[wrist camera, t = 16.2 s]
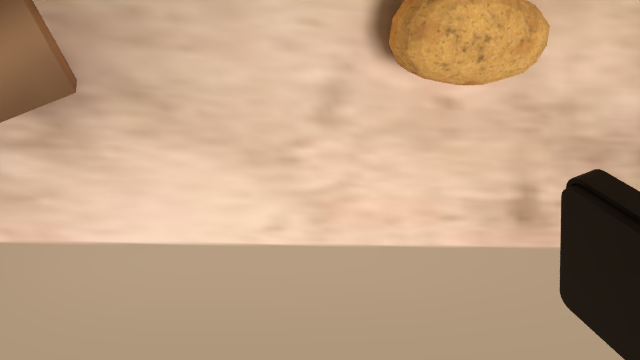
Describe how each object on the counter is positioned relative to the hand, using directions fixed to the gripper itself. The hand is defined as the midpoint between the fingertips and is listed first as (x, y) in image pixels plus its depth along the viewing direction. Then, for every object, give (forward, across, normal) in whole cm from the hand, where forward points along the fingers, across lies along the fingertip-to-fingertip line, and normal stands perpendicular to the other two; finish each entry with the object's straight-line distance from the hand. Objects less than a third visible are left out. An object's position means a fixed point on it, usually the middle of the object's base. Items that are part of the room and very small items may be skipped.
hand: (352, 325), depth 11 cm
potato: (+29, -18, +5) cm, 34 cm away
